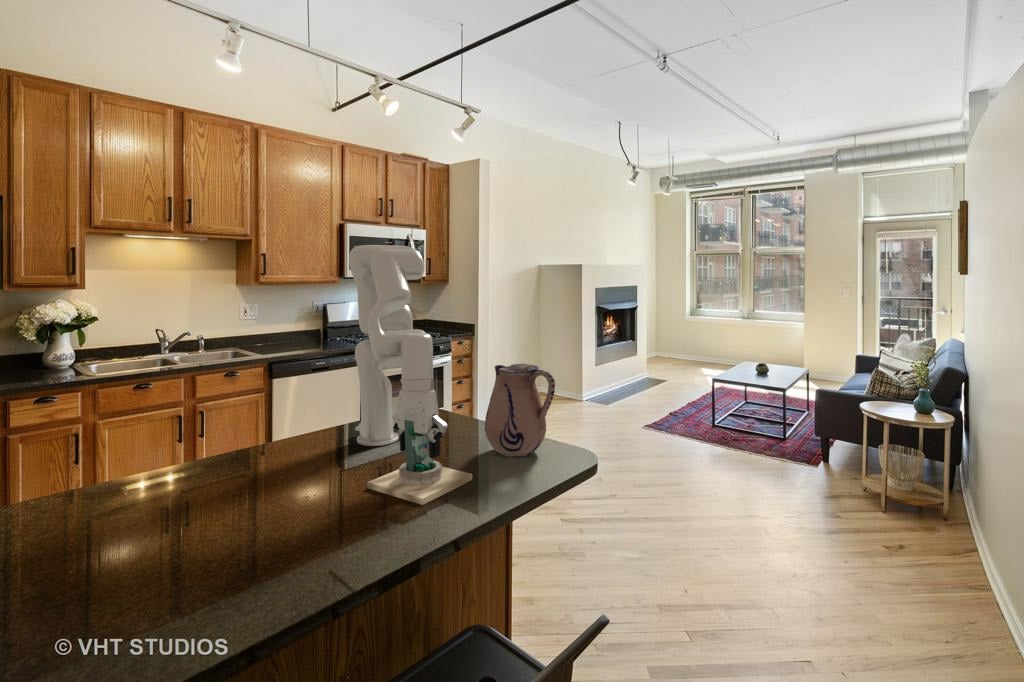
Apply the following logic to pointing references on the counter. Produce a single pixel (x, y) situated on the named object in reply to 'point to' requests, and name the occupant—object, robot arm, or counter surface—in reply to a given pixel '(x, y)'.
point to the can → (417, 450)
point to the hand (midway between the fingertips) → (420, 453)
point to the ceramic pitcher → (517, 410)
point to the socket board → (420, 491)
